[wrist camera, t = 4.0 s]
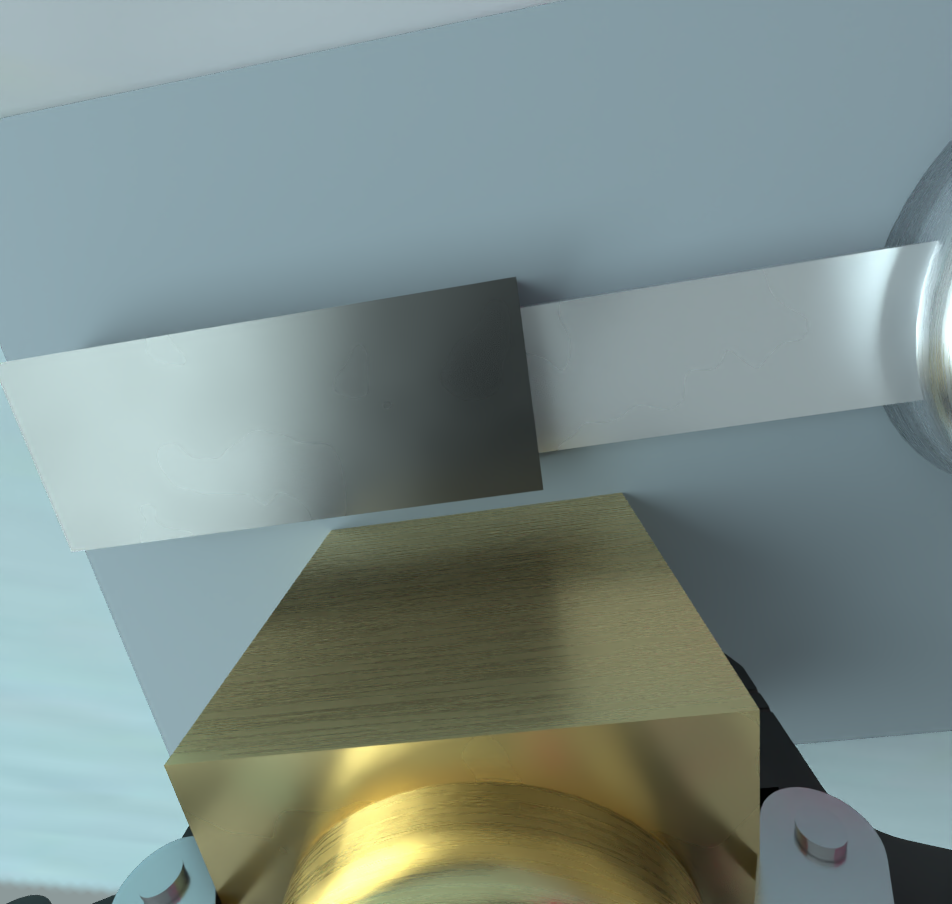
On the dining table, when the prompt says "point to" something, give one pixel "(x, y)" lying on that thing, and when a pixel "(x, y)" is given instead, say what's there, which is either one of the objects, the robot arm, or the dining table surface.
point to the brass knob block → (480, 725)
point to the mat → (530, 295)
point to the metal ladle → (479, 387)
